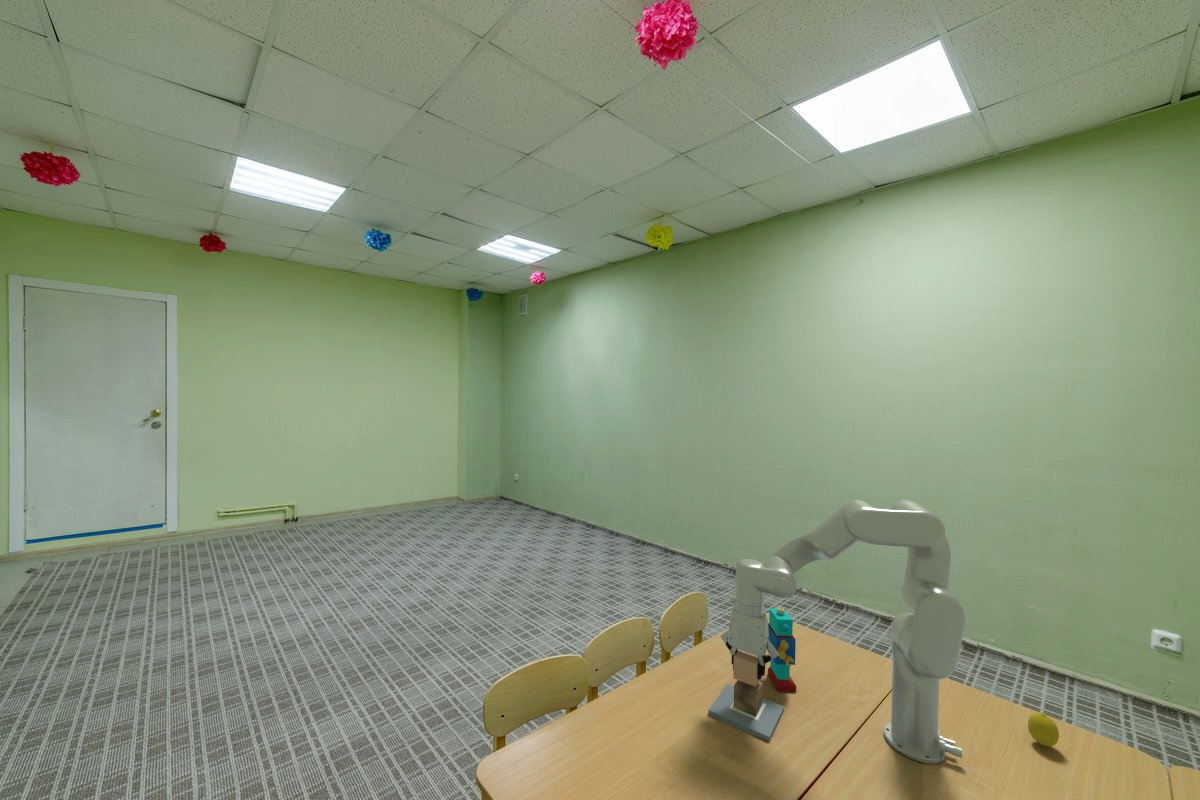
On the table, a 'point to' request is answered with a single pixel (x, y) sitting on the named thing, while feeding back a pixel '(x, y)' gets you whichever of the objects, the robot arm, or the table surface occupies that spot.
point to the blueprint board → (747, 715)
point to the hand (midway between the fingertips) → (747, 671)
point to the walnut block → (748, 697)
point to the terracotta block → (746, 667)
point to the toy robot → (781, 649)
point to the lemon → (1043, 729)
